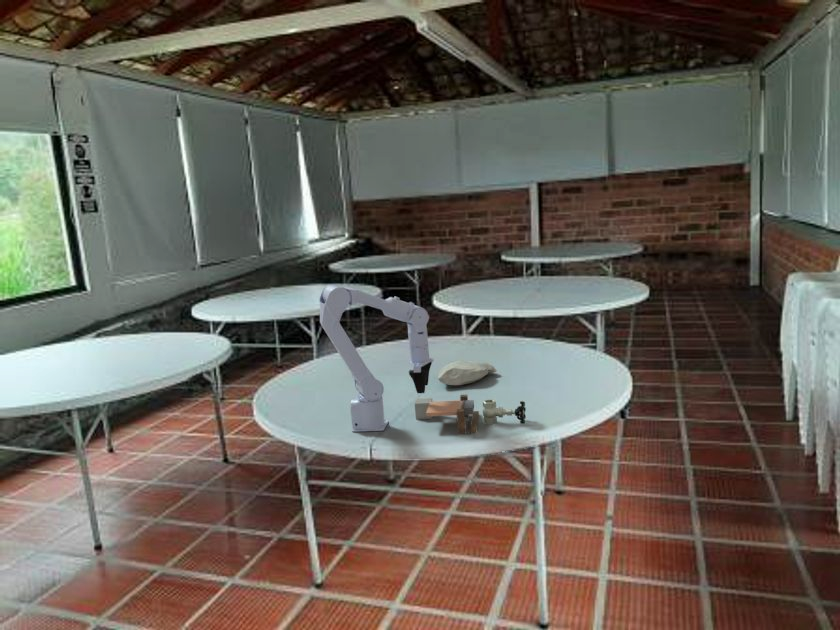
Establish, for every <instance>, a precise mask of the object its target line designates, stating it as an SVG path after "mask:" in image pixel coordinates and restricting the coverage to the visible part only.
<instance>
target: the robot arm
mask: <svg viewBox="0 0 840 630" xmlns="http://www.w3.org/2000/svg"><path fill="white" fill-rule="evenodd" d="M318 303H319V324H320V325H321V327H322V329H323V330H324V332H325V334H326V335H327V337H328V338H329V340H330V342H331V343H332V345H333V346H334V348H335V350H336V351H337V352H338V353H337V354H338V355H339V356H340V358H341V360H342V361H343V362H344V364H345V365H346V367H347V368H348V370H349V372H350V374H351V377H352V378H353V381H354V387H355V390H356V391H357V392H359V393H358V395H357V398H353V399H351V401H350V416H351V427H352V428H351V429H352V430H351V432H355V433H356V432H381V431H384V430H385V429H386V427H387V425H388V423H389V420H388V419H385V412H384V409H385V408H384V400H383V395H384V392H385V391H384V390H385V389H384V385H383V383H382V382H381V381H380V380H379V379H377V378H375V376H374V375H373V373H372V372H371V370H370V369H369V368H368V367H367V365H366V364H365V362H364V360H363V359H362V357H361V356H360V353H359V352H358V351H357V349H356V347H355V345H354V344H353V342H352V341H351V339H350V338H349V336H348V334H347V332H346V331H345V330H344V328H343V326H342V325H341V322H340V321H341V318H342V316H343V313H344V312H345V310H346V309H347V308H348V306H349V305H350V306H354V305H357V304H360V305H361V304H362V305H364V306H368V307H371V308H374V309H378V310H381V311H382V313H383V315H384V316H385V317H387V318H390V319H394V320H398V321H401V322H404V323H405V322H406V324H407V335H408V346H409V347H408V348H409V357H410V359H409V364H410V365H411V366H412V367H413V369H409V371H408V375H409V376H410V378H411V379H412V382H413V383H414V387H415V391H416V392H417V393H416V394H425V392H426V387H427V386H428V385H429V377H430V371H431V370H430V369H431V366H432V364H433V362H434V360H435V359H434V358H432V357H431V358H430V351H429V338H428V328H427V324H428V322H429V319H430V314H429V313H428V311H427V310H426V309H425V308H423V307H421V306H418V305H415V303H414V302H412V301H409V302H406V301H403V300H401V299H400V297H398V296H394V297H393V296H389V297H388V298H385V299H384V298H381V297H378V296H375V295H373V294H370V293H367V292H365V291H361V290H359V289H356V288H354V287H353V288H352V287H347V286H339V285H337V284H328V285H325V287H324V288H323V289H322V292H321V293H320V296H319V297H318Z"/></svg>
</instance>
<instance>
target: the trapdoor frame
mask: <svg viewBox="0 0 840 630" xmlns="http://www.w3.org/2000/svg"><path fill="white" fill-rule="evenodd" d="M459 397H460V398H459V399H460V400H459V401H463V400H465V401H466V400H468V398H469V397H468V394H460V395H459ZM479 415H480V414H479V411H478V410H473V415H471V422H470V427H469V428H470V429H469V431H470V434H476V433H477V429H478V424H479ZM469 417H470V415H465V413H464V409H457V415H456V422H457V433H458V434H459V435H461V434H464V435H465V434H466V432H467V431H466V430H467V429H466V418H469Z"/></svg>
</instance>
